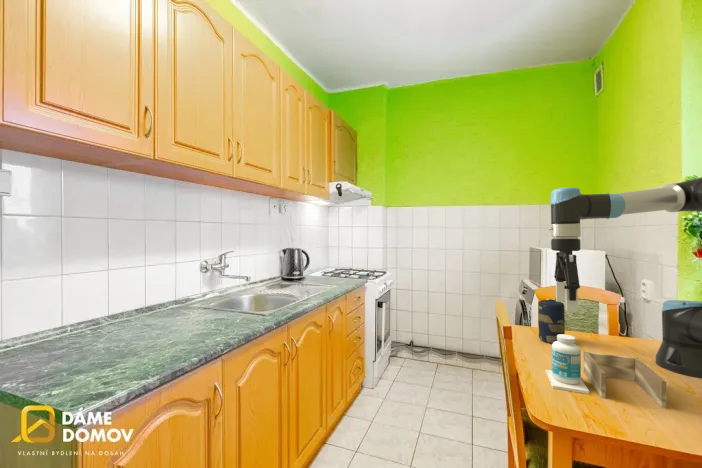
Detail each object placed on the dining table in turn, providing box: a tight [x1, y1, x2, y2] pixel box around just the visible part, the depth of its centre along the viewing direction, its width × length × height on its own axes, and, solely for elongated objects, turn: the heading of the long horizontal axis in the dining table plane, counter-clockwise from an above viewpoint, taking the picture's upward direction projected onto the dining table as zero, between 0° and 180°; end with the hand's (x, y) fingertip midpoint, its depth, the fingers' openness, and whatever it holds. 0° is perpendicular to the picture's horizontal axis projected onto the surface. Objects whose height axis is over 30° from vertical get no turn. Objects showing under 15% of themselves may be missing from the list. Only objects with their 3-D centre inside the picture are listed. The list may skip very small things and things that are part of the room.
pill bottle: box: [551, 334, 582, 384], centre depth 97 cm, size 8×7×14 cm
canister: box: [537, 298, 566, 344], centre depth 134 cm, size 10×10×18 cm
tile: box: [545, 369, 590, 395], centre depth 98 cm, size 9×12×1 cm
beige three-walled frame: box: [583, 351, 667, 409], centre depth 93 cm, size 14×17×7 cm
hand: (566, 306), depth 97 cm, fingers open, 13 cm apart
